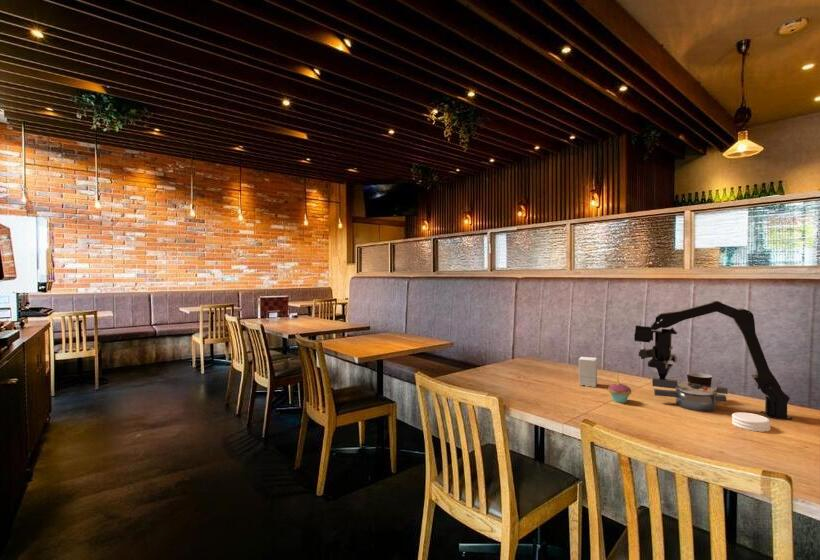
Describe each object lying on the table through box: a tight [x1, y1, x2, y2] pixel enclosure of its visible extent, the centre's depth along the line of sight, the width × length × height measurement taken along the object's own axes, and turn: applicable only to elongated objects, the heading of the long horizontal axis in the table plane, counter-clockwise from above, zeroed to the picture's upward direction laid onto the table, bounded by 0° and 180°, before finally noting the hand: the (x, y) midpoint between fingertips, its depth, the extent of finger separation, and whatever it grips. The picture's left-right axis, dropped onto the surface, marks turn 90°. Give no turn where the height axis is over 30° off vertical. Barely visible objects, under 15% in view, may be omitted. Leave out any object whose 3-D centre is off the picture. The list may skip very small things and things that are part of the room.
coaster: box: [731, 411, 771, 433], centre depth 137 cm, size 10×10×4 cm
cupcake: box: [607, 373, 632, 404], centre depth 166 cm, size 9×8×12 cm
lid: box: [652, 377, 729, 395], centre depth 159 cm, size 24×14×3 cm, turn 59°
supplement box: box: [578, 356, 598, 388], centre depth 191 cm, size 7×7×13 cm
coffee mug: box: [686, 372, 713, 387], centre depth 169 cm, size 12×9×10 cm
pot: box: [653, 388, 727, 413], centre depth 159 cm, size 24×13×6 cm, turn 68°
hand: (662, 381), depth 166 cm, fingers closed
